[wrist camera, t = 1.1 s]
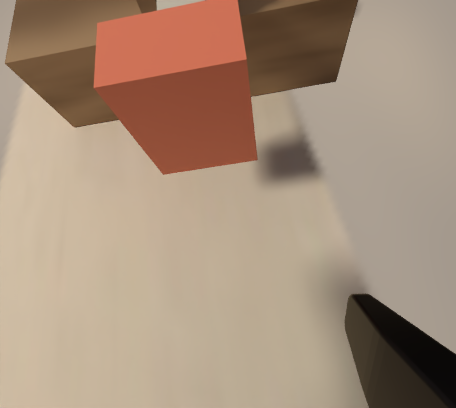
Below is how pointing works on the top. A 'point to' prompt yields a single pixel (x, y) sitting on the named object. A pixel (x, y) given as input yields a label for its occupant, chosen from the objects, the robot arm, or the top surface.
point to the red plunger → (180, 83)
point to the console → (142, 3)
